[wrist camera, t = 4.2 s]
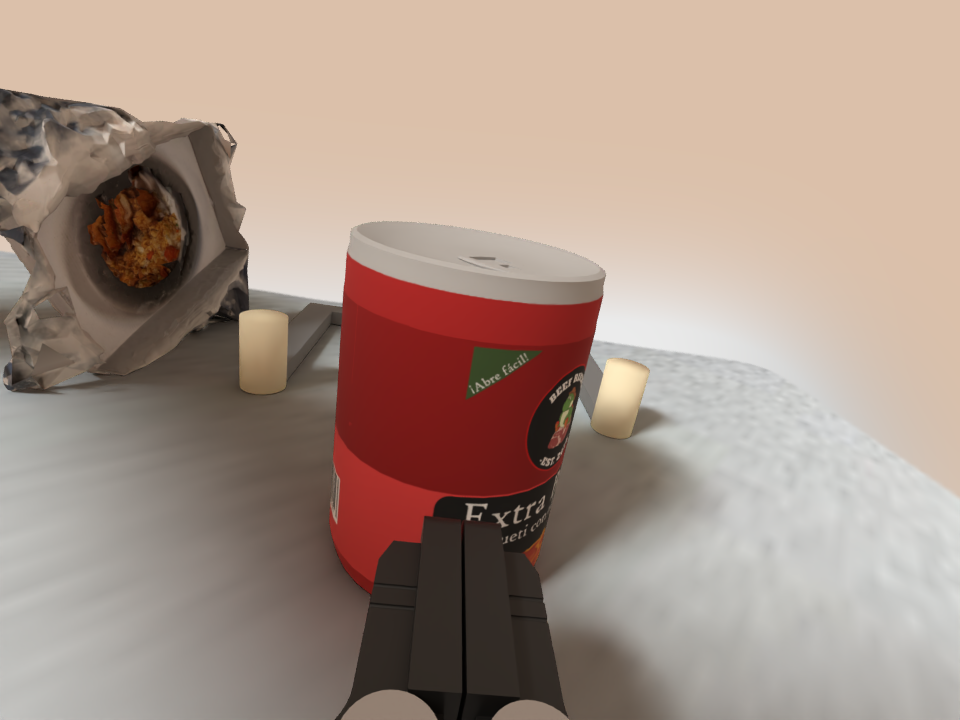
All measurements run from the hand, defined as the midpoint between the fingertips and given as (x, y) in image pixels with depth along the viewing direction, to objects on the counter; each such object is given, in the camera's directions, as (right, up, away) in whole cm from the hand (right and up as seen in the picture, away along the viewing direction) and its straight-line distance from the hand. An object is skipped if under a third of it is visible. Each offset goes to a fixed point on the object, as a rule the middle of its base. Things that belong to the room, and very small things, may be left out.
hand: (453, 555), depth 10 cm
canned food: (-1, -3, +9) cm, 10 cm away
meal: (-20, +4, +21) cm, 29 cm away
